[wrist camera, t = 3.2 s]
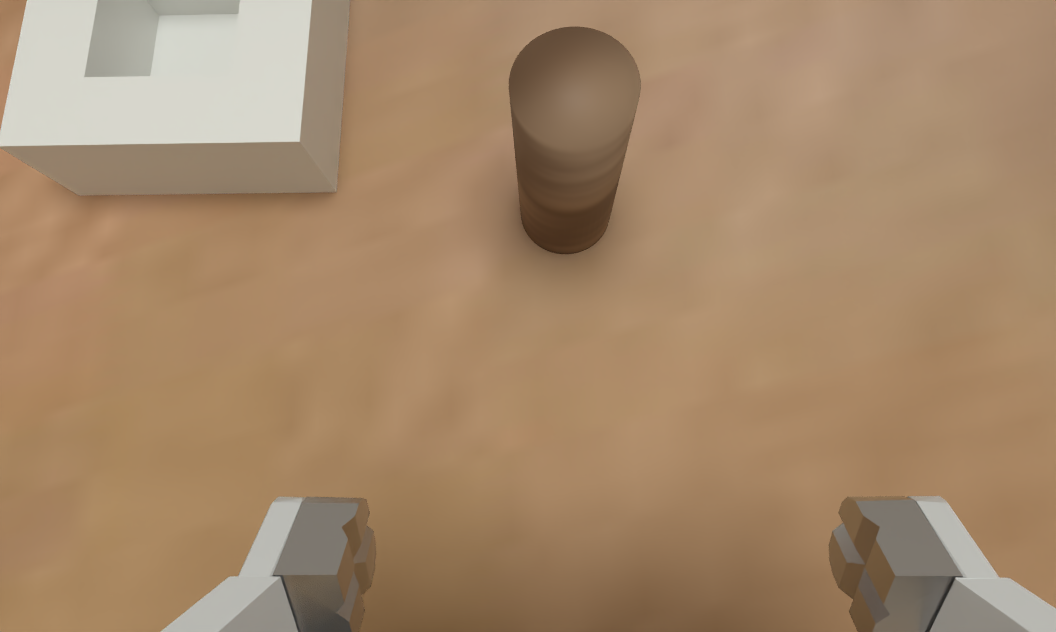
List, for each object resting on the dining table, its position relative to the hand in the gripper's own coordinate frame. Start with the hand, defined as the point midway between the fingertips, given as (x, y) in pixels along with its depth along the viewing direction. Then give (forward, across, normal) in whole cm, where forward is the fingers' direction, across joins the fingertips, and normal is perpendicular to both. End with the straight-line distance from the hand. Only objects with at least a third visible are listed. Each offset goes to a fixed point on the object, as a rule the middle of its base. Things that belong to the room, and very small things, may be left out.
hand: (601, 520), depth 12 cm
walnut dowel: (+20, 0, -3) cm, 20 cm away
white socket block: (+25, -16, +2) cm, 30 cm away
